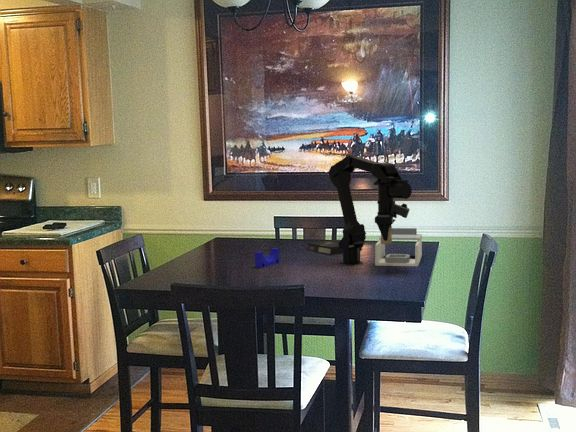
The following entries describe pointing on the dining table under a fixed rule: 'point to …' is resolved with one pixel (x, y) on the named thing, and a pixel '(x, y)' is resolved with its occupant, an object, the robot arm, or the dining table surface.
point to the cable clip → (267, 258)
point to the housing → (397, 256)
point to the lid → (405, 234)
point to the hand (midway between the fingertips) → (386, 239)
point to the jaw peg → (389, 240)
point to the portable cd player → (326, 247)
